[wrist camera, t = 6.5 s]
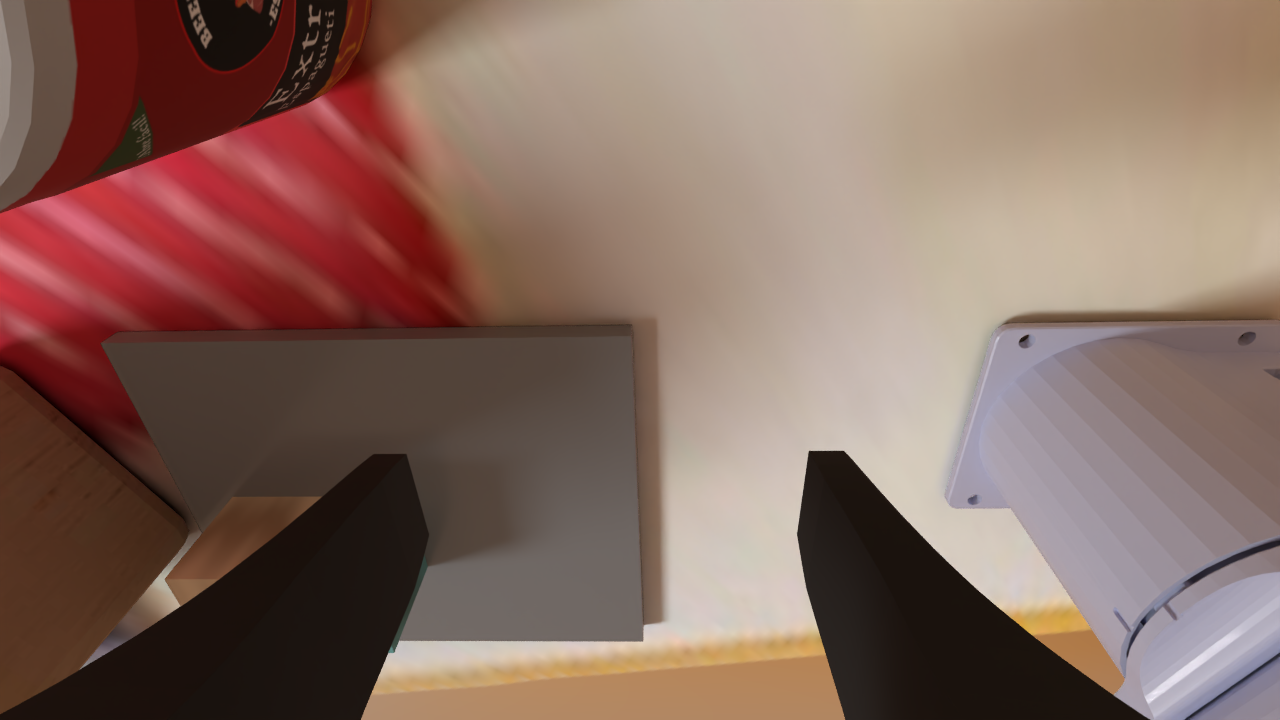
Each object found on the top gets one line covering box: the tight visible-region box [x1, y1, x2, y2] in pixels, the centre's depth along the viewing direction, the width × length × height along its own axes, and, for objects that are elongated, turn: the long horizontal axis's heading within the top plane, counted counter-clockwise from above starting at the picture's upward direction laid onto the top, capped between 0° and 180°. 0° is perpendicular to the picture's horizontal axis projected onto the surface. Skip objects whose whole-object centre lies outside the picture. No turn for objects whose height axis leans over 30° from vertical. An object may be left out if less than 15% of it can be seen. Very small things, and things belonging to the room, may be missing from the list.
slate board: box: [100, 325, 644, 641], centre depth 25 cm, size 18×16×1 cm
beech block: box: [165, 497, 428, 653], centre depth 24 cm, size 4×4×7 cm
